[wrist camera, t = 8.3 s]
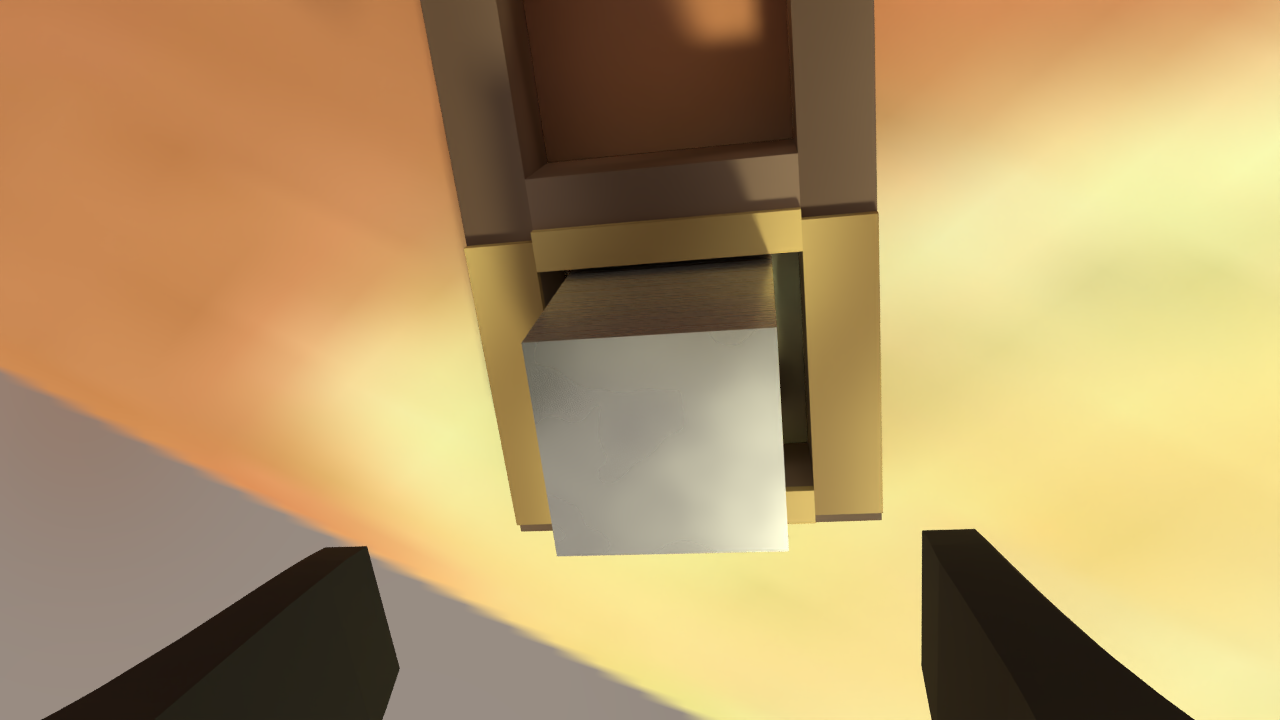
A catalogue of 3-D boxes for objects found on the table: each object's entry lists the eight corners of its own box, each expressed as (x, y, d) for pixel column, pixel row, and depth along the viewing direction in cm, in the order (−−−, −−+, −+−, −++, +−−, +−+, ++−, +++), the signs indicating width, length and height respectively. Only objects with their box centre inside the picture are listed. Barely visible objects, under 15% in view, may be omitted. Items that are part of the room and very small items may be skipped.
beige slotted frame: (845, -771, 13) (862, -918, 11) (869, 474, 20) (883, 524, 18) (341, -643, 14) (271, -753, 12) (541, 486, 22) (518, 536, 20)
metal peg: (769, 233, 19) (776, 326, 13) (778, 401, 20) (788, 551, 15) (587, 246, 19) (521, 342, 14) (609, 409, 21) (557, 556, 15)
